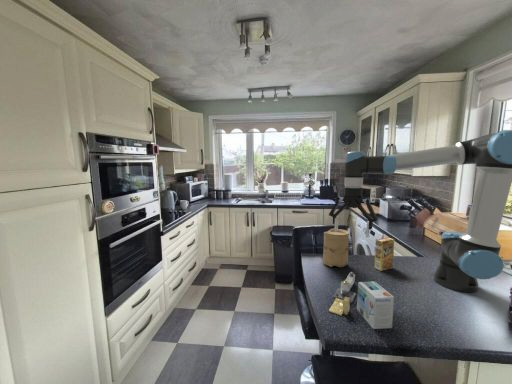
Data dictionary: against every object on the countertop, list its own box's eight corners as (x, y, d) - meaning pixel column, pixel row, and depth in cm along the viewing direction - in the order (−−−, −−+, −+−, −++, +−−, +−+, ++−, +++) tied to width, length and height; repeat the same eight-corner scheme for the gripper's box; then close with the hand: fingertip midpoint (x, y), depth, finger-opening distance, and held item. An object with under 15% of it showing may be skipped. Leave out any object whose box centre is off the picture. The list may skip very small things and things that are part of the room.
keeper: (352, 304, 87) (352, 291, 87) (346, 317, 79) (346, 304, 79) (336, 299, 90) (336, 287, 90) (328, 311, 83) (329, 298, 82)
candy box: (381, 271, 115) (382, 241, 113) (373, 267, 119) (375, 239, 117) (393, 268, 118) (395, 239, 116) (385, 265, 122) (387, 237, 120)
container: (320, 265, 122) (320, 232, 120) (327, 257, 132) (327, 227, 130) (344, 271, 115) (346, 236, 113) (350, 262, 125) (351, 230, 123)
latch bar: (347, 296, 90) (348, 284, 90) (339, 293, 92) (340, 282, 91) (355, 281, 102) (356, 270, 102) (348, 279, 104) (348, 269, 103)
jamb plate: (355, 294, 93) (355, 292, 93) (351, 303, 88) (351, 300, 88) (338, 289, 97) (338, 287, 97) (333, 297, 92) (333, 295, 92)
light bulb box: (356, 309, 84) (357, 281, 83) (373, 308, 85) (375, 280, 83) (373, 329, 73) (375, 298, 72) (393, 328, 74) (395, 297, 73)
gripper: (386, 187, 97) (383, 236, 99) (328, 185, 112) (327, 227, 114) (383, 189, 91) (380, 241, 93) (322, 186, 106) (321, 231, 108)
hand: (351, 233), depth 104 cm, fingers open, 13 cm apart
